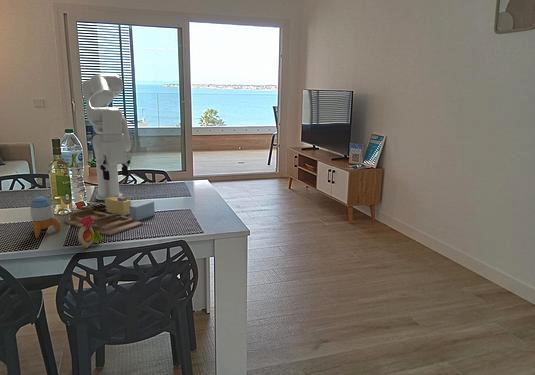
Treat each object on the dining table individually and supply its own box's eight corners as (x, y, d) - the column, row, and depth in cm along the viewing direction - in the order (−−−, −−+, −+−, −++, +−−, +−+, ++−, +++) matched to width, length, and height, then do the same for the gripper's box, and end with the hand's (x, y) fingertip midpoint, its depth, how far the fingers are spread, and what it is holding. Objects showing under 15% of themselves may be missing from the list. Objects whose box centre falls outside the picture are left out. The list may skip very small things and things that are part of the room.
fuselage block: (105, 211, 188) (104, 195, 187) (113, 209, 192) (112, 193, 190) (124, 215, 182) (122, 199, 180) (131, 213, 185) (130, 197, 184)
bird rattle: (95, 254, 146) (106, 236, 153) (85, 230, 139) (97, 212, 146) (78, 253, 147) (90, 235, 154) (67, 229, 140) (80, 212, 147)
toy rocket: (40, 241, 154) (25, 203, 150) (25, 240, 160) (10, 203, 156) (65, 229, 162) (51, 193, 158) (50, 229, 168) (36, 193, 164)
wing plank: (130, 219, 177) (129, 205, 176) (148, 213, 186) (147, 200, 184) (136, 221, 175) (135, 207, 174) (154, 215, 184) (154, 201, 182)
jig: (64, 222, 172) (63, 215, 171) (98, 213, 185) (97, 206, 184) (109, 236, 157) (109, 228, 157) (143, 224, 170) (142, 217, 170)
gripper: (123, 135, 188) (126, 173, 192) (89, 139, 174) (93, 180, 178) (135, 136, 184) (137, 175, 188) (101, 140, 170) (104, 182, 174)
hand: (116, 177), depth 183 cm, fingers open, 9 cm apart
